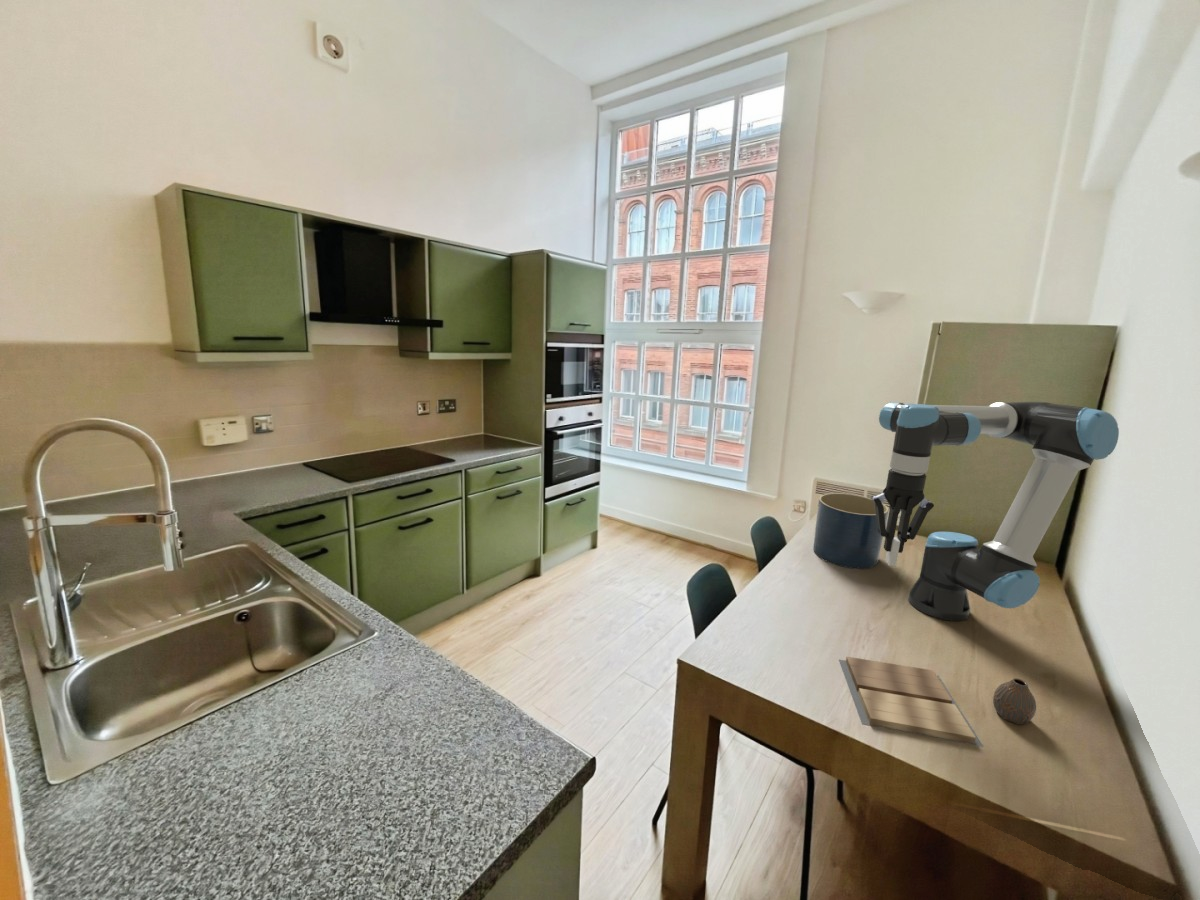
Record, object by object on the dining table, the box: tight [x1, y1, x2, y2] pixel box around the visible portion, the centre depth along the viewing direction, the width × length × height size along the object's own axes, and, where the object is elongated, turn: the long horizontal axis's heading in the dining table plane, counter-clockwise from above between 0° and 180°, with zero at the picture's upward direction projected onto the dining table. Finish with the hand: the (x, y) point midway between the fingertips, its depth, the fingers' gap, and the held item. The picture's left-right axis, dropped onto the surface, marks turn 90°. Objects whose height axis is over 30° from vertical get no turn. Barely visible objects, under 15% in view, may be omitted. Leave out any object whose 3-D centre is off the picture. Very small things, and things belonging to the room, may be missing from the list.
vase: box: [992, 677, 1037, 725], centre depth 104 cm, size 7×7×9 cm
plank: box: [858, 688, 976, 744], centre depth 103 cm, size 19×9×2 cm, turn 77°
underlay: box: [838, 659, 984, 748], centre depth 109 cm, size 22×21×1 cm
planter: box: [813, 492, 890, 570], centre depth 177 cm, size 22×22×20 cm
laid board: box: [845, 656, 953, 704], centre depth 113 cm, size 19×10×2 cm, turn 77°
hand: (890, 563), depth 120 cm, fingers closed
